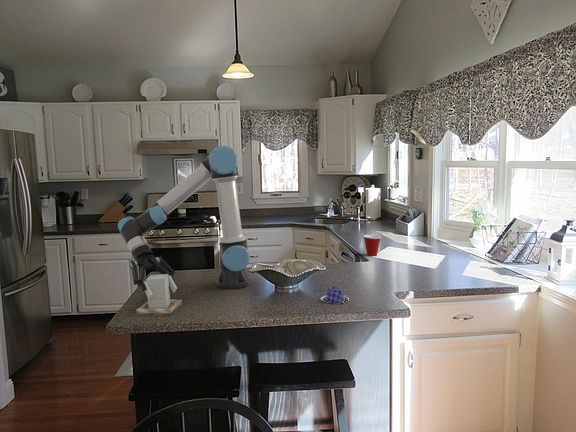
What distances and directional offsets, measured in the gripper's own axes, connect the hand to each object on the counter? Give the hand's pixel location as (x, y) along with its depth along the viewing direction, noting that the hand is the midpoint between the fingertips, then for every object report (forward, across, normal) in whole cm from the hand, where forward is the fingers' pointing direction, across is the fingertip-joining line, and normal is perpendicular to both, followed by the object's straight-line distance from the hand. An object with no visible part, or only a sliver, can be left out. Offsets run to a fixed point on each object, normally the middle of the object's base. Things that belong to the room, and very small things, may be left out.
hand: (163, 293), depth 184 cm
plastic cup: (+10, -141, -1) cm, 141 cm away
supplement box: (+2, 0, -7) cm, 7 cm away
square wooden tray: (+3, 0, -7) cm, 8 cm away
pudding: (+36, -54, +25) cm, 70 cm away
